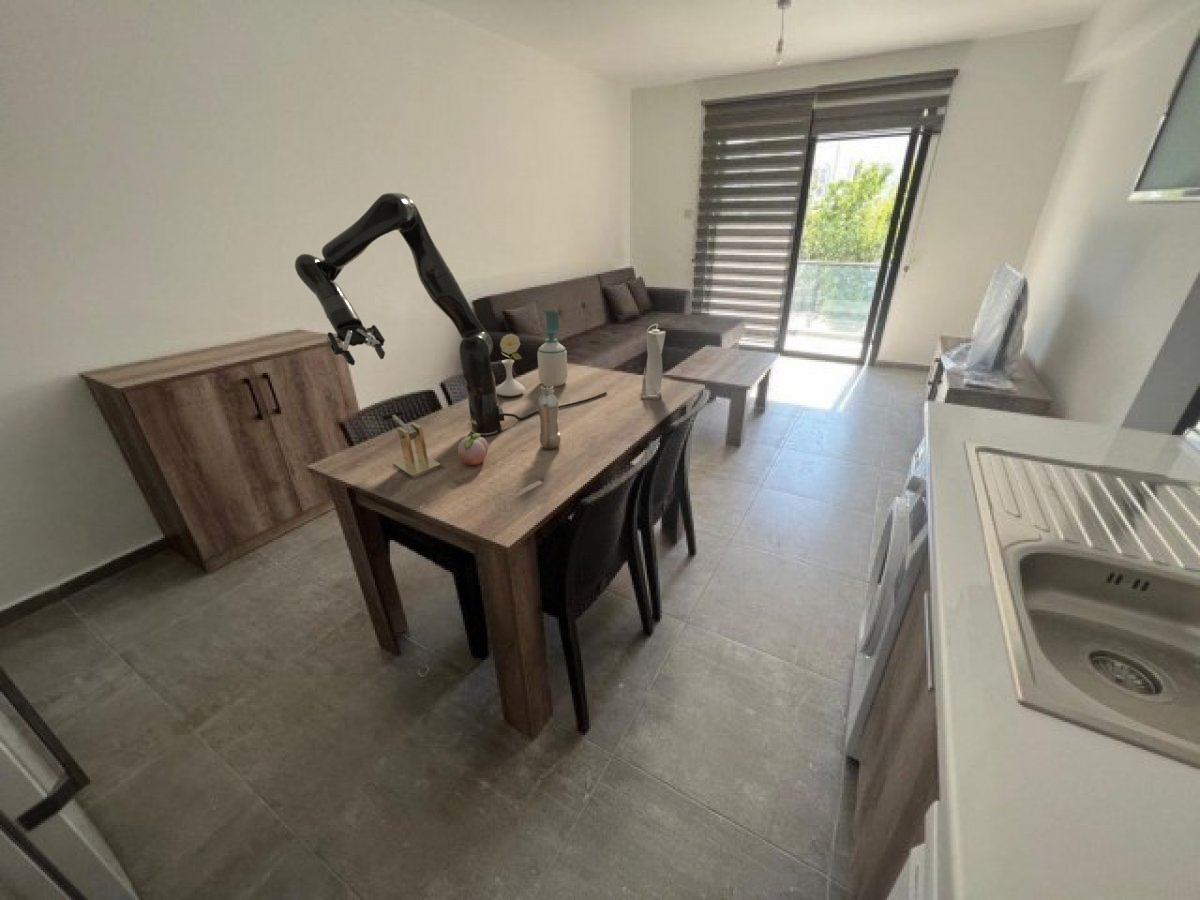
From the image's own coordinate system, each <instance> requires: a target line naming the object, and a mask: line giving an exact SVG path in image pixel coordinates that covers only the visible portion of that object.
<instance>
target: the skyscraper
mask: <svg viewBox="0 0 1200 900" xmlns="http://www.w3.org/2000/svg"><path fill="white" fill-rule="evenodd" d="M654 326H656V327H655V328H654V329H651V328H652V327H654ZM658 327H659V324H658V323H653V324H651V325H650V326H649V327H648V328H647V329H646V331H645V333H646V334H645V335H646V351H647V358H646V366H645V367H644V369H643V377H642V384H641V385H642V386H641V398H640V399H641V400H648V401H649V400H651V401H659V400H660V393H661V387H662V379H663V357H662V354H663V350H664V345H665V339H666V334H667V333H666V330H660V329H658ZM650 329H651V331H649V330H650ZM659 391H660V392H659ZM658 394H659V395H658ZM649 395H657V396H649ZM642 396H645V397H642Z"/></svg>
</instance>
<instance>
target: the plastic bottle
mask: <svg viewBox="0 0 1200 900" xmlns="http://www.w3.org/2000/svg"><path fill="white" fill-rule="evenodd" d="M554 391H555V390H554V387H553V386H552V385H544V384H542V385H541V386H540V393H541V395H540V396H539V398H538V400H537V404H536V405H537V411H539V413H538V414H539V419H540V434H539V442H540V445H541V446H542V447H543V448H544V449H547V450H548V449H550V450H551V449H555V448H557V447H559V445H560V444H561V434H560V429H559V423H558V422H559V420H558V419H559V417H558V414H559V408H558V406H559V400H558V398H557V397H556V395H555V394H554Z"/></svg>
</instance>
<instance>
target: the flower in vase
mask: <svg viewBox="0 0 1200 900" xmlns="http://www.w3.org/2000/svg"><path fill="white" fill-rule="evenodd" d="M520 340H521V339H520V337H519V336H517V335H515V334H513V333H510V334H509V333H508V334H506V335H503V336H502V338H501V339H500V342H499V346H500V349H501V352H500V353H501V354H502V355H503V356H504V357H507V359H503V360H501V363H502V364H503V366H504V369H505V375H506V378H505V380H504V381H503V382H502V383H501V384H499V386H498V387H497V388H496V394H498V395H499V396H503V397H516V396H520V395H522V394H523V393H524V392H525V390H526V388H525V387H524V385H523V384H522V383H519V381H517V380H515V379H514V377H513V365H514V363H515V360H517V361H518V360H522V359H523V357H522V356H521V354H519V353H518V349H519V348H520V346H521V342H520ZM509 355H511V356H509ZM508 358H509V359H508Z"/></svg>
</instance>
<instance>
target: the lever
mask: <svg viewBox="0 0 1200 900" xmlns="http://www.w3.org/2000/svg"><path fill="white" fill-rule="evenodd" d="M403 415H404V412H403V410H402V409H401V410H397V411H394V412H390V413H387V414H384V415H381V416H380V419H381V420H382V421H383V422H384V421H387V420H393V422H395V423H396V424H397V425H398V426H399V427H401V428H403V429H405V430H407V431H408V432H409V437H410V441H412V440H414V439H415V438H417V431H416V430H415V429H414V428H413V427H412V426H411V425H410V426H408V425H407V424H405V422H403V421H402V419H400V417H401V416H403Z"/></svg>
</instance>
